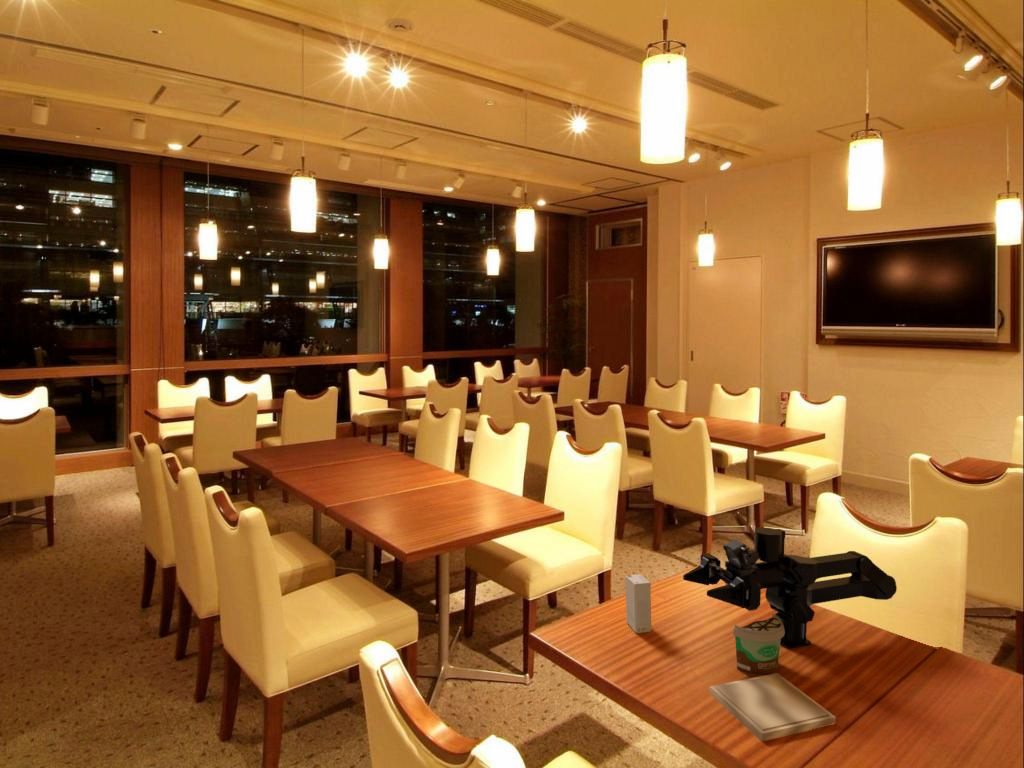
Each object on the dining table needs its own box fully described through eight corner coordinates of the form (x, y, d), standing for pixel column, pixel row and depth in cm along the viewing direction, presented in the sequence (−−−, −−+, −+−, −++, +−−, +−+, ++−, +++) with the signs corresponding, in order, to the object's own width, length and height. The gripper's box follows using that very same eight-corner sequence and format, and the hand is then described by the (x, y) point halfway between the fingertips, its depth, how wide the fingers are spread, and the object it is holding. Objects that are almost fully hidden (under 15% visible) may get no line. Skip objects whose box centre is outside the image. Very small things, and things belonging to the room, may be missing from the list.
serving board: (777, 682, 138) (777, 672, 138) (835, 727, 123) (835, 716, 122) (709, 695, 133) (709, 685, 133) (761, 744, 118) (761, 732, 118)
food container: (754, 684, 136) (755, 637, 135) (731, 670, 142) (732, 625, 141) (796, 669, 142) (798, 624, 141) (773, 656, 147) (774, 612, 146)
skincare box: (652, 632, 159) (652, 582, 158) (634, 634, 158) (634, 584, 157) (641, 620, 165) (642, 573, 164) (624, 622, 164) (625, 574, 163)
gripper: (731, 528, 158) (672, 535, 153) (785, 555, 140) (721, 564, 136) (730, 574, 159) (672, 582, 154) (784, 606, 141) (720, 617, 137)
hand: (695, 585), depth 145 cm, fingers open, 9 cm apart
